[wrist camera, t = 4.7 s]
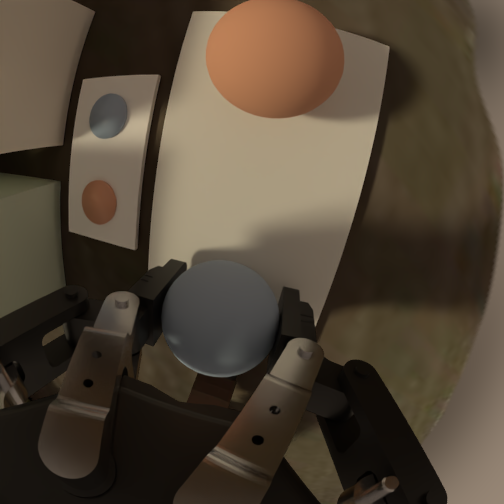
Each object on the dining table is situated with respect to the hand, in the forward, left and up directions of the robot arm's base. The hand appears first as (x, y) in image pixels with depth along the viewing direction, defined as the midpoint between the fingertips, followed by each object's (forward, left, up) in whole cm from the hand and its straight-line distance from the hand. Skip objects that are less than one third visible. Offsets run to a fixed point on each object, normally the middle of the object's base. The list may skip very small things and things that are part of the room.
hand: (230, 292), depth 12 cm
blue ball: (0, 0, +2) cm, 2 cm away
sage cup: (+1, -16, -1) cm, 16 cm away
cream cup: (-10, -16, -1) cm, 19 cm away
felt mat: (-5, 0, -1) cm, 5 cm away
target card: (-5, -8, -1) cm, 9 cm away
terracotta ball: (-10, 0, +2) cm, 10 cm away
